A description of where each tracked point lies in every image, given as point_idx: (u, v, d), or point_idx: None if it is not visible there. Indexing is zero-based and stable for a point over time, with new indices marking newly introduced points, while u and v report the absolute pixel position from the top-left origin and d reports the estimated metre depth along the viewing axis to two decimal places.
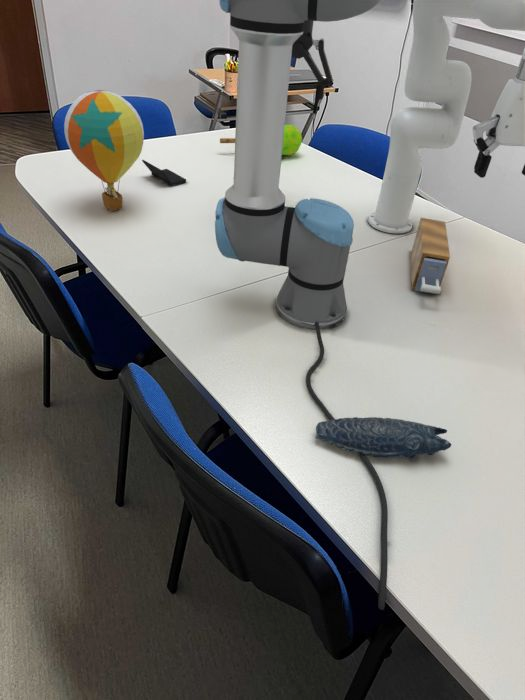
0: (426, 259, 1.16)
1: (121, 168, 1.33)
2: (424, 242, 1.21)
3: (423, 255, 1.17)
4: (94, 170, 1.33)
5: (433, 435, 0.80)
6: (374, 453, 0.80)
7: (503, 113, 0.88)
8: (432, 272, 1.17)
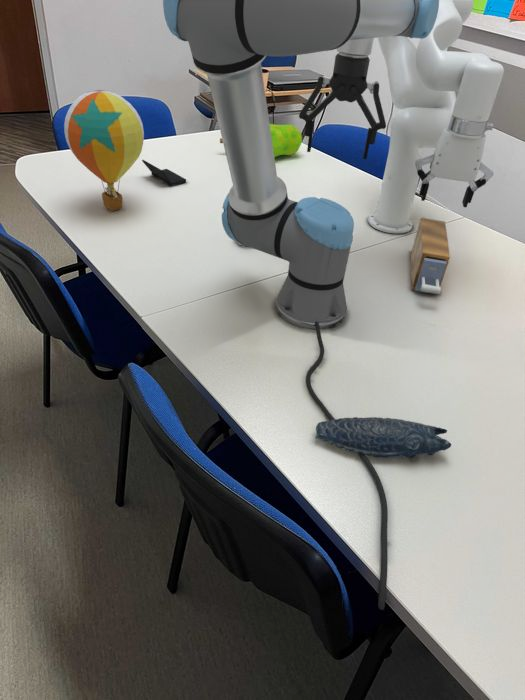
0: (426, 259, 1.16)
1: (121, 168, 1.33)
2: (424, 242, 1.21)
3: (423, 255, 1.17)
4: (94, 170, 1.33)
5: (433, 435, 0.80)
6: (374, 453, 0.80)
7: (435, 153, 1.15)
8: (432, 272, 1.17)
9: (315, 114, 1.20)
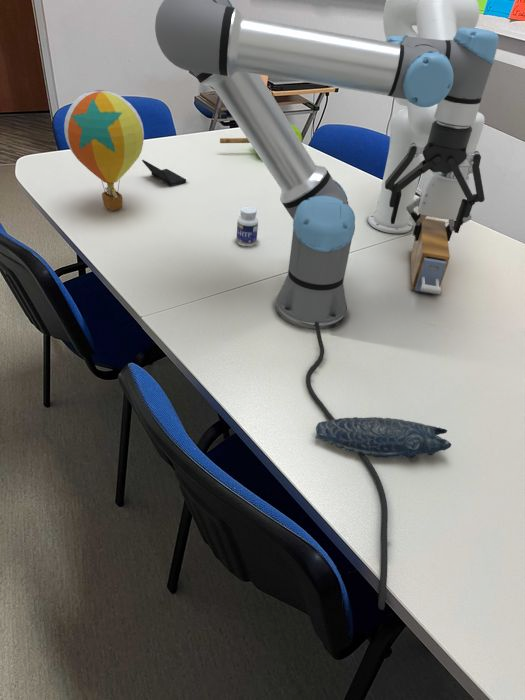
0: (426, 259, 1.16)
1: (121, 168, 1.33)
2: (424, 242, 1.21)
3: (423, 255, 1.17)
4: (94, 170, 1.33)
5: (433, 435, 0.80)
6: (374, 453, 0.80)
7: (422, 193, 1.22)
8: (432, 272, 1.17)
9: (404, 185, 1.07)
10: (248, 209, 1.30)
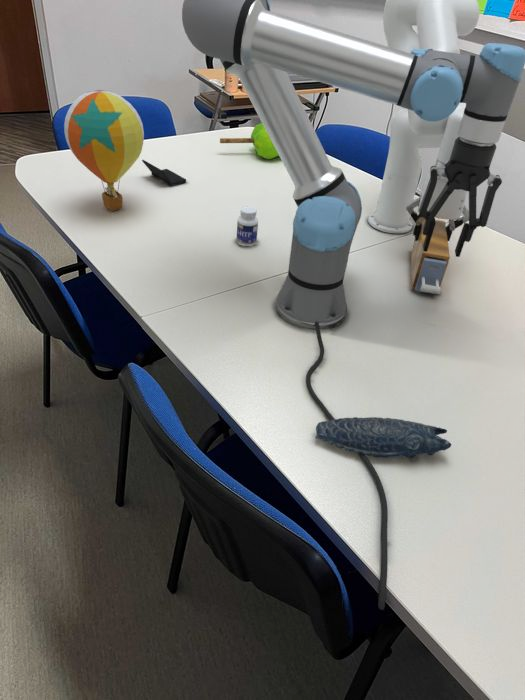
0: (426, 259, 1.16)
1: (121, 168, 1.33)
2: None
3: (423, 255, 1.17)
4: (94, 170, 1.33)
5: (433, 435, 0.80)
6: (374, 453, 0.80)
7: (422, 193, 1.22)
8: (432, 272, 1.17)
9: (436, 211, 1.05)
10: (248, 209, 1.30)
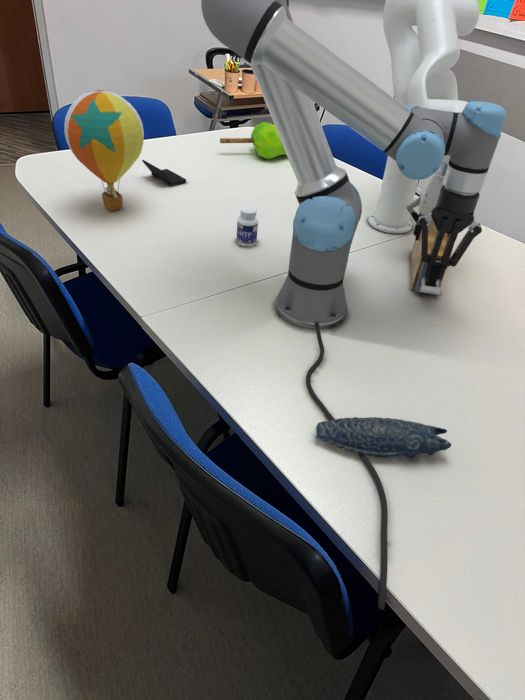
0: None
1: (121, 168, 1.33)
2: None
3: None
4: (94, 170, 1.33)
5: (433, 435, 0.80)
6: (374, 453, 0.80)
7: (423, 192, 1.22)
8: None
9: (435, 255, 1.11)
10: (248, 209, 1.30)
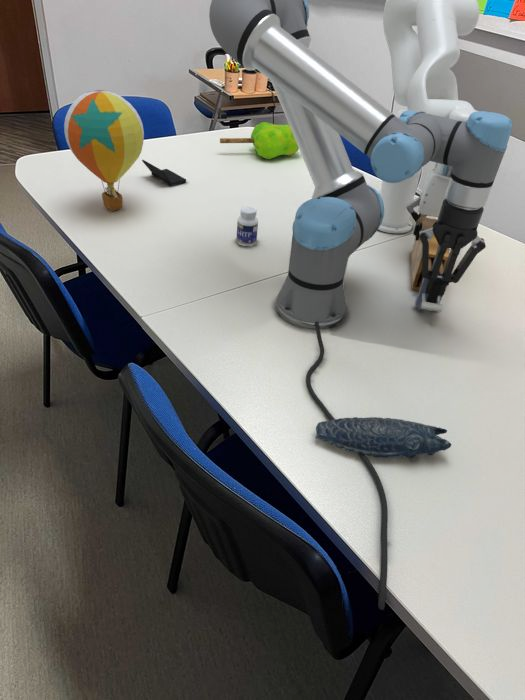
0: None
1: (121, 168, 1.33)
2: None
3: None
4: (94, 170, 1.33)
5: (433, 435, 0.80)
6: (374, 453, 0.80)
7: (423, 192, 1.22)
8: None
9: (436, 271, 1.06)
10: (248, 209, 1.30)
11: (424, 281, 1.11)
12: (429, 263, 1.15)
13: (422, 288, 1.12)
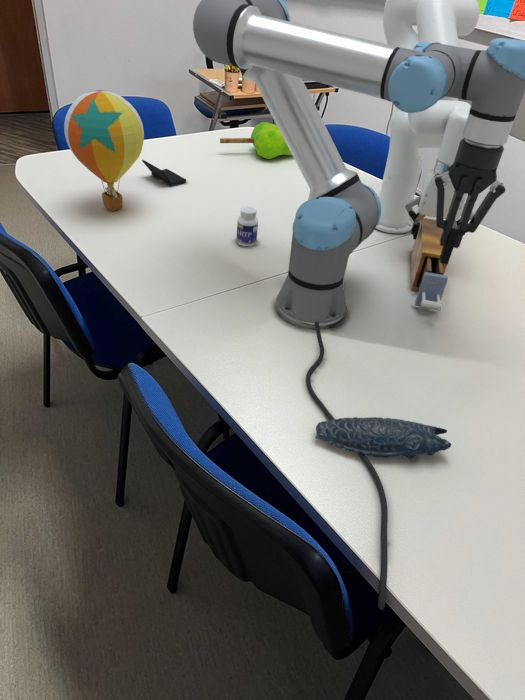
0: (427, 273, 1.11)
1: (121, 168, 1.33)
2: (424, 242, 1.21)
3: (423, 255, 1.17)
4: (94, 170, 1.33)
5: (433, 435, 0.80)
6: (374, 453, 0.80)
7: (422, 193, 1.22)
8: (433, 287, 1.12)
9: (452, 220, 1.00)
10: (248, 209, 1.30)
11: (424, 280, 1.11)
12: (429, 262, 1.15)
13: (422, 287, 1.12)
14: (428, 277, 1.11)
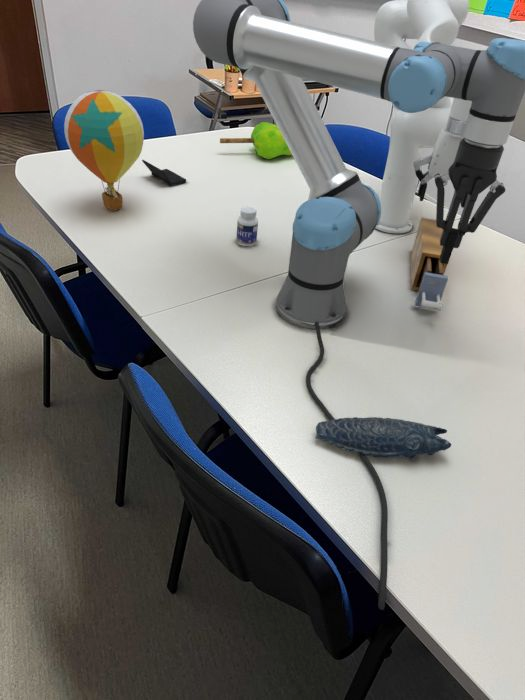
0: (427, 274, 1.11)
1: (121, 168, 1.33)
2: (424, 242, 1.21)
3: (423, 255, 1.17)
4: (94, 170, 1.33)
5: (433, 435, 0.80)
6: (374, 453, 0.80)
7: (433, 153, 1.16)
8: (433, 287, 1.12)
9: (452, 220, 1.00)
10: (248, 209, 1.30)
11: (424, 280, 1.11)
12: (429, 262, 1.16)
13: (422, 287, 1.12)
14: (428, 277, 1.11)
